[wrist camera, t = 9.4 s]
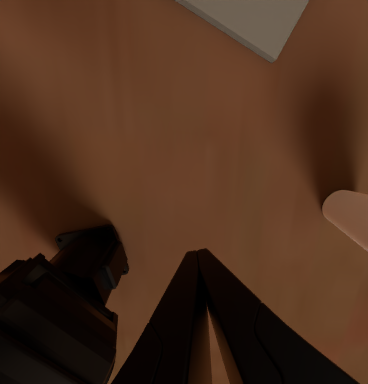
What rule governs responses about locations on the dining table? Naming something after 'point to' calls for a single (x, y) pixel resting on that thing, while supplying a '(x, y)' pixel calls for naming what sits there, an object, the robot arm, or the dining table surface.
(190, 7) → the mat
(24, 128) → the dining table surface
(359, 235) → the smoothie
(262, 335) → the robot arm
